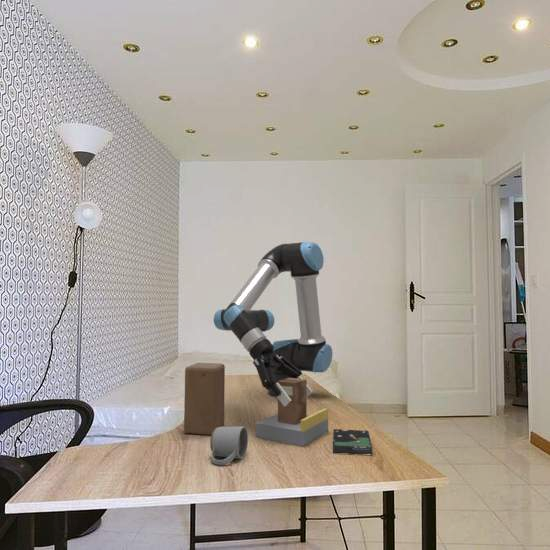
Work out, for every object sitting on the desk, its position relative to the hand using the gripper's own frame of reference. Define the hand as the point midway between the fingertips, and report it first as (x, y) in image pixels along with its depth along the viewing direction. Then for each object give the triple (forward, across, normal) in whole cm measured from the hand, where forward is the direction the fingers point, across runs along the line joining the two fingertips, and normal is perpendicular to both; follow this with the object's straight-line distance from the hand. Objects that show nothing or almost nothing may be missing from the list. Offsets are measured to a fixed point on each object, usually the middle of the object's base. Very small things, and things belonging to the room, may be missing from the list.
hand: (299, 399), depth 130 cm
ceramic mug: (+3, +26, -12) cm, 29 cm away
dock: (+6, 0, -9) cm, 11 cm away
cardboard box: (+3, 0, -6) cm, 7 cm away
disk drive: (+20, 0, +4) cm, 20 cm away
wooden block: (-12, +11, -27) cm, 31 cm away
